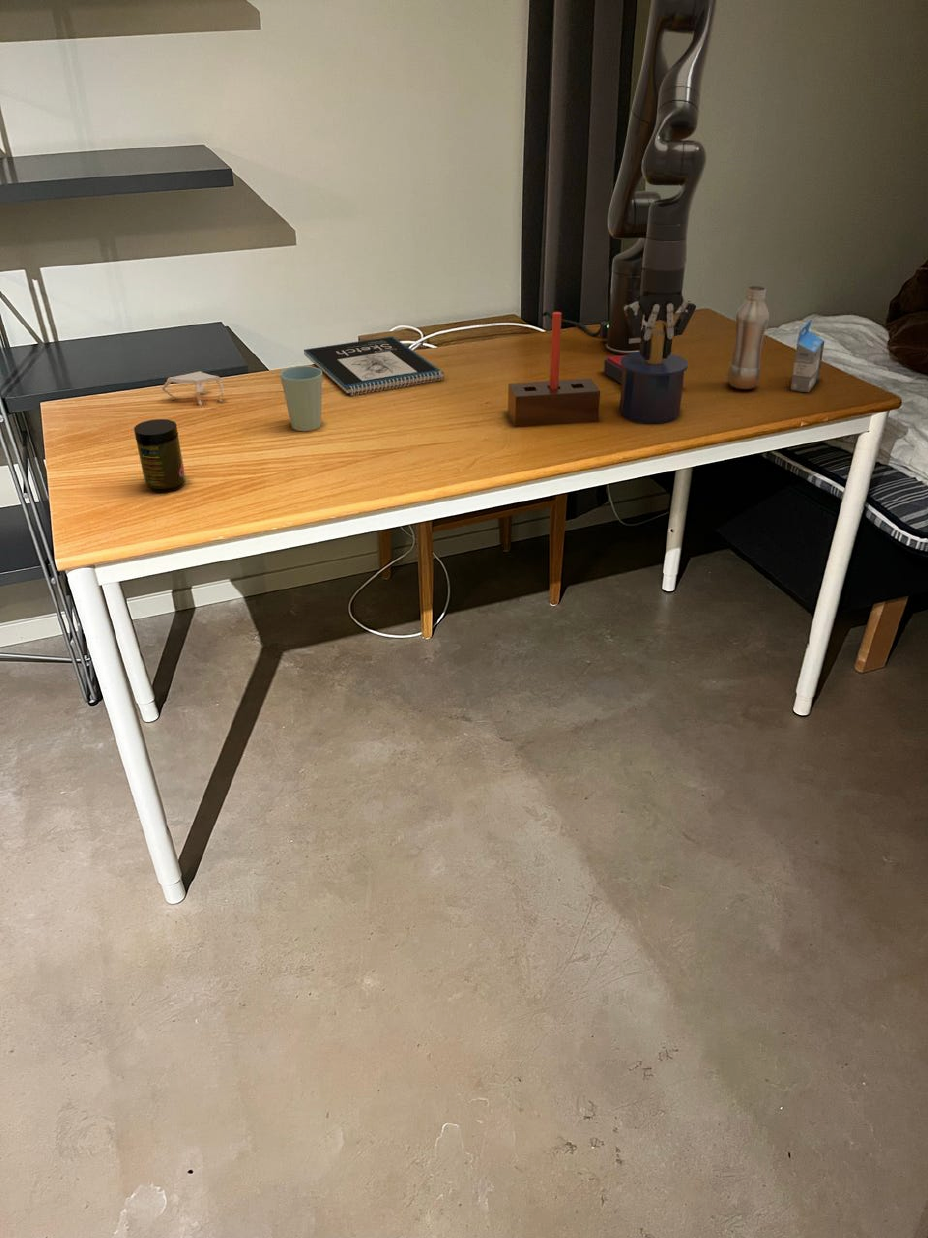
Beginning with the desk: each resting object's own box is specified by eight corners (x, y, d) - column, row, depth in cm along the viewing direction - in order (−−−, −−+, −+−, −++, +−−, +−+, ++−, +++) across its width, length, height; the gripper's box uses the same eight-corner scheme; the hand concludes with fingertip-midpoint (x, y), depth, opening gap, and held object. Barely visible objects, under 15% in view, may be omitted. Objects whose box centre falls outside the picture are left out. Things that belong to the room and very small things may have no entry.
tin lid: (612, 359, 192) (614, 324, 188) (674, 355, 194) (678, 320, 190) (631, 381, 182) (634, 345, 178) (697, 377, 183) (701, 341, 180)
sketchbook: (392, 341, 231) (392, 333, 230) (445, 381, 208) (445, 371, 207) (304, 354, 223) (303, 345, 222) (349, 397, 201) (348, 387, 199)
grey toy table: (222, 389, 205) (219, 366, 202) (226, 403, 198) (223, 379, 196) (163, 395, 202) (158, 372, 200) (165, 410, 196) (160, 386, 193)
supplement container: (184, 492, 165) (174, 433, 159) (143, 495, 164) (131, 436, 158) (188, 475, 170) (178, 417, 164) (148, 477, 169) (136, 420, 164)
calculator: (650, 350, 213) (685, 368, 200) (649, 369, 215) (683, 389, 202) (604, 355, 210) (636, 374, 197) (603, 375, 212) (634, 395, 200)
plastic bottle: (755, 381, 206) (770, 283, 195) (760, 393, 201) (776, 293, 190) (723, 381, 207) (737, 283, 196) (727, 392, 201) (742, 292, 190)
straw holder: (507, 413, 193) (508, 383, 190) (588, 407, 195) (590, 378, 192) (515, 426, 187) (515, 396, 184) (598, 421, 189) (600, 390, 186)
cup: (323, 416, 192) (318, 363, 187) (330, 430, 186) (325, 377, 180) (284, 420, 191) (277, 368, 185) (289, 435, 184) (283, 381, 179)
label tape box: (808, 393, 200) (819, 332, 194) (788, 389, 202) (798, 329, 195) (818, 380, 207) (830, 321, 200) (799, 376, 209) (809, 318, 202)
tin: (612, 403, 196) (616, 356, 191) (667, 400, 198) (672, 353, 193) (629, 425, 187) (633, 376, 182) (687, 421, 188) (693, 372, 183)
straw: (547, 415, 191) (551, 311, 181) (555, 415, 192) (560, 311, 181) (549, 419, 190) (553, 314, 179) (557, 418, 190) (562, 313, 179)
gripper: (694, 256, 181) (683, 349, 191) (619, 259, 179) (612, 353, 189) (709, 266, 175) (697, 362, 184) (632, 270, 173) (624, 366, 183)
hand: (654, 357), depth 186 cm, fingers closed on tin lid, 3 cm apart
